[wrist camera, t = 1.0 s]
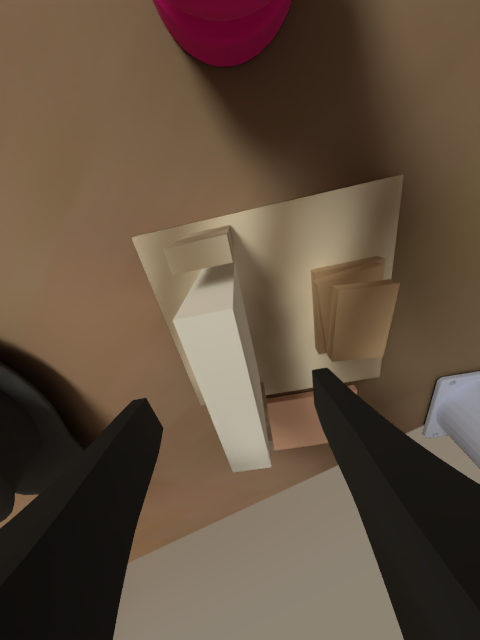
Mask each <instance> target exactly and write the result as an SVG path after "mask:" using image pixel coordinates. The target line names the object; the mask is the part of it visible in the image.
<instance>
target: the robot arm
mask: <svg viewBox="0 0 480 640" xmlns="http://www.w3.org/2000/svg"><path fill="white" fill-rule="evenodd" d="M312 381H313V395H314V406H315V409H316V412H317V415H318V418H319V421H320V424H321V426H322V429H323V432H324V434H325V436H326V438H327V440H328V443H329V445H330V447H331V449H332V452H333V454H334V456H335V458H336V460H337V463H338V465H339V467H340V469H341V471H342V474H343V476H344V478H345V480H346V482H347V485H348V487H349V489H350V491H351V493H352V496H353V498H354V501H355V503H356V506H357V508H358V511H359V514H360V516H361V519H362V522H363V525H364V527H365V530H366V533H367V535H368V538H369V541H370V543H371V546H372V549H373V552H374V555H375V558H376V560H377V563H378V565H379V569H380V572H381V574H382V577H383V580H384V583H385V586H386V588H387V591H388V594H389V597H390V600H391V603H392V606H393V609H394V611H395V615H396V617H397V620H398V623H399V626H400V629H401V632H402V635H403V638H404V640H480V484H478V483H476V482H475V481H473V480H472V479H470V478H468V477H467V476H465V475H464V474H462V473H461V472H459V471H458V470H456V469H455V468H453V467H452V466H450V465H449V464H447V463H446V462H444V461H443V460H441V459H440V458H438V457H437V456H435V455H434V454H433V453H431V452H430V451H428V450H427V449H425V448H424V447H422V446H421V445H420V444H418V443H417V442H415V441H414V440H413V439H411V438H410V437H409V436H407V435H406V434H405V433H403V432H402V431H401V430H399V429H398V428H397V427H395V426H394V425H393V424H392V423H390V422H389V421H388V420H386V419H385V418H384V417H383V416H381V415H380V414H379V413H378V412H377V411H375V410H374V409H373V408H372V407H371V406H369V405H368V404H367V403H366V402H365V401H363V400H362V399H361V398H360V397H359V396H358V395H357V394H355V393H354V392H353V391H352V390H351V389H350V388H349V387H348V386H347V385H345V384H344V383H343V382H342V381H341V380H340V379H339V378H338V377H337V376H336V375H335V374H334V373H333V372H332V371H331V370H330V369H328V368H327V367H326V368H320V369H315V370H312ZM162 433H163V427H162V425H161V423H160V422H159V420H158V418H157V416H156V415H155V413H154V411H153V409H152V408H151V406H150V404H149V402H148V401H147V399H146V398H143V399H137V400H133V401H132V402H131V403H130V404H129V405H128V406H127V407H126V408H125V409H124V410H123V411H122V412H121V413H120V414H119V415H118V416H117V417H116V418H115V419H114V420H113V421H112V422H111V423H110V424H109V425H108V427H107V428H106V429H105V430H104V431H103V432H102V433H101V434H100V435H99V436H98V437H97V438H96V439H95V440H94V441H93V442H92V443H91V444H90V445H89V446H88V448H87V449H86V450H85V451H84V452H83V453H82V454H81V455H80V456H79V457H78V458H77V459H76V460H75V461H74V462H73V463H72V464H71V465H70V466H69V467H68V468H67V469H66V470H65V471H64V472H63V473H62V474H61V475H60V476H59V477H58V478H56V479H55V480H54V481H53V482H52V483H51V484H50V485H49V486H48V487H47V488H46V489H45V490H44V491H43V492H42V493H40V494H39V495H38V496H37V497H36V498H35V499H34V500H33V501H32V502H30V503H29V504H28V505H27V506H26V507H25V508H24V509H23V510H22V511H20V512H19V513H18V514H17V515H16V516H15V517H14V518H12V519H11V520H10V521H9V522H8V523H6V524H5V525H4V526H3V527H2V528H0V640H113V635H114V629H115V624H116V619H117V613H118V607H119V603H120V598H121V592H122V588H123V582H124V578H125V573H126V568H127V564H128V559H129V555H130V551H131V546H132V542H133V538H134V533H135V529H136V526H137V522H138V519H139V515H140V512H141V509H142V506H143V502H144V499H145V496H146V493H147V490H148V486H149V483H150V480H151V477H152V474H153V470H154V467H155V464H156V461H157V457H158V454H159V449H160V444H161V439H162ZM423 435H424V436H425V437H426V438H433V437H440V436H447V435H449V436H450V437H451V438H452V439H453V440H454V441H455V443H456V444H457V445H458V446H459V447H460V448H461V449H462V450H463V451H464V452H465V453H466V454H467V455H468V456H469V458H471V460H472V461H473V462H474V463H475V464H476V465H477V466H478V467H479V468H480V371H478V372H471V373H465V374H459V375H452V376H446V377H441V378H440V379H438V381H437V383H436V387H435V390H434V394H433V397H432V401H431V405H430V408H429V412H428V415H427V419H426V422H425V426H424V429H423Z"/></svg>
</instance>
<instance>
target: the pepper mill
mask: <svg viewBox="0 0 480 640" xmlns="http://www.w3.org/2000/svg"><path fill="white" fill-rule="evenodd" d="M153 2H154V4H155V6H156V9H157V11H158V13H159V15H160V17H161V19H162V21H163V23H164V24H165V26H166V27H167V29H168V30H169V32H170V33H171V35H172V36H173V37H174V39H175V40H176V41H177V42H178V43H179V45H180V46H181V47H182V48H183V49H185V50H186V51H187V52H188V53H189V54H191V55H192V56H193V57H195V58H196V59H198V60H200V61H202V62H204V63H206V64H210V65H214V66H219V67H227V66H236V65H239V64H242V63H244V62H247V61H249V60H250V59H252V58H253V57H255V56H256V55H258V54H259V53H260V52H261V51H262V50H263V49H264V48H265V47H266V46H267V45H268V44H269V43H270V42H271V41H272V39H273V38H274V37H275V35H276V34H277V32H278V30H279V29H280V27H281V25H282V23H283V21H284V19H285V17H286V15H287V13H288V11H289V8H290V5H291V2H292V0H153Z"/></svg>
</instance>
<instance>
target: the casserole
mask: <svg viewBox="0 0 480 640" xmlns="http://www.w3.org/2000/svg"><path fill="white" fill-rule="evenodd" d="M84 451H85V449H84V448H83V446H81V445H80V444H79V443H78V442H77V441H76V440H75V439H74V438H73V437H72V436H71V434H70V433H69V431H68V429H67V428H66V426H65V424H64V423H63V421H62V420H61V418H60V416H59V415H58V413H57V411H56V410H55V408H54V406H53V405H52V404H51V403H50V402H49V401H48V400H47V399H46V398H45V397H44V396H43V394H42V393H41V392H40V391H39V390H38V389H37V388H36V387H34V386H33V385H32V384H31V383H30V382H28V381H27V380H26V379H25V378H23V377H22V376H21V375H20V374H19V373H17V372H16V371H14V370H12V369H11V368H9V367H8V366H6V365H4V364H3V363H1V362H0V522H1V521H3V520H5V519H6V518H7V517H8V516H9V515H10V514H11V512H12V510H13V506H14V502H15V493H18V494H23V495H35V494H40V493H42V492H43V491H44V490H45V489H46V488H47V487H48V486H49V485H50V484H51V483H52V482H53V481H54V480H55V479H56V478H58V477H59V476H60V475H61V474H62V473H63V472H64V471H65V470H66V469H67V468H68V467H69V466H70V465H71V464H72V463H73V462H74V461H75V460H76V459H77V458H78V457H79V456H80V455H81V454H82V453H83V452H84Z"/></svg>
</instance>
